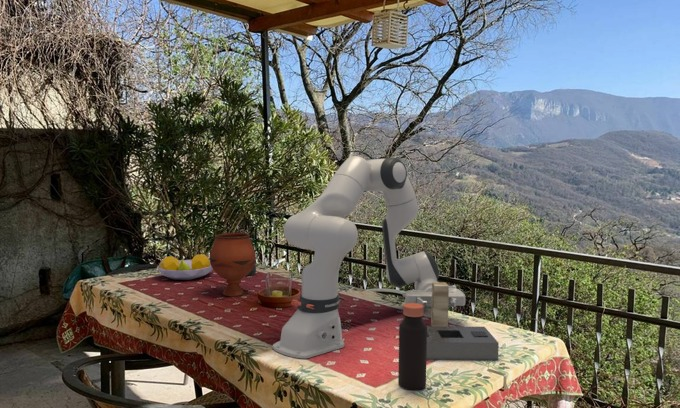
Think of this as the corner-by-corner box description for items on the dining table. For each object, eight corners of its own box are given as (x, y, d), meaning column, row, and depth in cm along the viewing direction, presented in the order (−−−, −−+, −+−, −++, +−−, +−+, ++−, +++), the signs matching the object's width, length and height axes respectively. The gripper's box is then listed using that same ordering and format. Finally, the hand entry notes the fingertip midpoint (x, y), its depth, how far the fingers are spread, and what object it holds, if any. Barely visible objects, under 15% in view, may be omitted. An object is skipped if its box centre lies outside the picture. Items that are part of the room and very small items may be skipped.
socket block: (405, 341, 154) (406, 325, 154) (483, 342, 154) (484, 326, 154) (412, 359, 140) (412, 341, 140) (498, 360, 140) (498, 342, 140)
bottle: (416, 393, 119) (417, 311, 118) (392, 385, 124) (394, 305, 122) (431, 384, 124) (432, 305, 123) (408, 376, 129) (409, 300, 127)
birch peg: (431, 330, 165) (432, 282, 164) (444, 330, 165) (445, 282, 164) (433, 334, 161) (434, 285, 160) (447, 334, 161) (448, 285, 160)
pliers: (330, 288, 219) (360, 297, 204) (330, 289, 219) (360, 299, 204) (312, 291, 213) (341, 301, 198) (312, 293, 213) (341, 303, 198)
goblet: (243, 285, 224) (242, 230, 222) (264, 294, 209) (264, 235, 207) (202, 292, 212) (201, 233, 210) (222, 302, 197) (221, 239, 195)
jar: (236, 272, 250) (236, 257, 250) (256, 272, 251) (256, 257, 251) (234, 277, 240) (234, 261, 240) (255, 277, 242) (255, 261, 241)
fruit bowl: (172, 270, 256) (172, 248, 255) (223, 272, 252) (223, 250, 251) (143, 283, 228) (143, 258, 227) (200, 285, 224) (200, 260, 223)
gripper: (402, 284, 177) (407, 294, 163) (459, 285, 177) (469, 295, 163) (401, 302, 178) (406, 313, 164) (459, 302, 178) (469, 314, 164)
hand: (438, 304), depth 164 cm, fingers open, 8 cm apart
